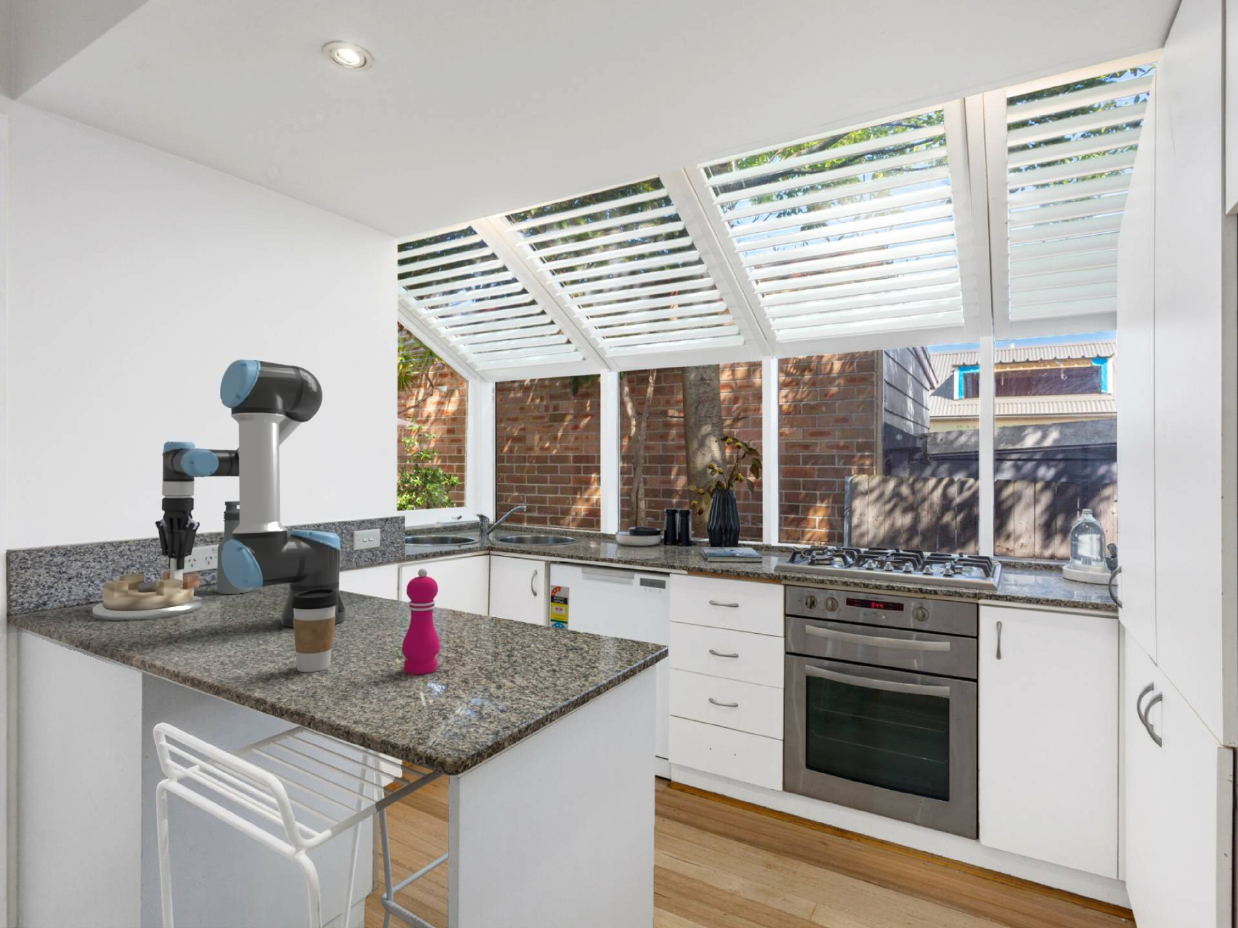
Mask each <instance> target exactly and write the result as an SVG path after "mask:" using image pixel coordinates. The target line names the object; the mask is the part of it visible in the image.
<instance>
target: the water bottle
mask: <svg viewBox="0 0 1238 928" xmlns="http://www.w3.org/2000/svg"><path fill="white" fill-rule="evenodd" d="M224 506H225V510H224V511H223V522H224V527H223V528H224V529H223V530H224V531H223V540H222V541H221V542H220V543H219V544H218V545H217V563H216V564H217V565H216V567H217V568H216V570H217V571H216V573H217V574H216V575H217V576H216V592H217V593H218V594H221V595H226V594H232V595H241V594H240V593H243V594H247V593H246V592H248V593H250V592H252V591H253V589H254V588H248V589H240V588H237V587H235V586H233V585H232V584H231V583H230V581H229V580H228V578H227V577H226V575H225V572H224V569H223V565H222V557H221V556H222V550H223V546H224V544H225V543H226V542H227V541H229V540H231V539H232V532H233V531H234V530H235V529H236V528H237V527H238V526H239V524H240V508H238V506H240V503H239V500H230V501H229V500H227V501H224Z"/></svg>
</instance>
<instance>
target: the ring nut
mask: <svg viewBox="0 0 1238 928" xmlns="http://www.w3.org/2000/svg"><path fill="white" fill-rule="evenodd" d="M144 577H145V574H142V573H131V574H123V575H119V579H118V580H113V581H112V580H111V581H106V582H104V586H103V587H104V589H103V594H102V603H103V607H104V608H107V609H114V610H140V609H153V608H162V607H169V606H175V605H180V604H184V603H188V602H190V601H192V600H193V599H194V596H195V595H194V593H195V592H194V589H195V588H196V589H197V588H200V574H197V573H192V574H185V575H184V574H183V581H181V580H179V579H170V571H168V572H163V573H162V580H156V581H146V582H145V580H144V579H145V578H144Z"/></svg>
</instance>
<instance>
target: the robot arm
mask: <svg viewBox="0 0 1238 928" xmlns="http://www.w3.org/2000/svg"><path fill="white" fill-rule="evenodd" d="M219 389H220V390H219V397H220V400H221V403H222V404H223V406H225V407H226V408H228V409H230V416H231V418H232V419H234V420H235V422H237V424H238V447H237V448H236V449H216V448H214V449H212V448H210V449H208V448H196V445H195V442H192V441H170V440H169V441H165V443H164V444H163V448H162V449H163V450H162V454H161V455H162V488H161V496H163V498H162V499H161V510H162V511H163V512H164V513H163V515H162V519H160V520H156V521H155V523H154V524H155V526H156V529H157V532H158V536H159V538H158V539H159V543H160V548H161V555H163V556H167V558H168V569H169V572H170V579H179V580H181V582H183V575H184V574H183V573H184V569H185V560H186V557H189V556H191V555H192V554H193V549H194V546H195V545H194V544H195V539H196V535H197V531H198V529H199V527H200V526H201V523H200V522H199V521H196V520H194V519H193V515H192V511H193V510H194V509H195V498H194V497H193V496H194V495H195V478H206V477H208V478H209V477H216V478H217V477H238V480H239V481H238V483H239V485H238V486H239V488H238V489H239V490H238V491H239V492H238V493H239V500H238V501H239V503H240V505H239V509H240V524H239V526H238V527H237V528H236V529H235V530H234V531H233V532H232V539H231V540H229V541H227V542H226V543H225V544H224V546H223V550H222V556H221V557H222V565H223V569H224V572H225V575H226V577H227V578H228V580H229V581H230V583H231V584H232V585H233V586H235V587H237V588H240V589H248V588H253V589H255V590H256V589H261V588H263V587H265V588H266V587H270V586H272V587H273V586H278V585H287V584H289V587H288V588H289V590H288V595H287V597H286V600H285V603H284V606H283V608H282V611H281V614H280V624H281V625H282V626H283V627H289V628H294V625H293V617H294V608H292V607H291V606H292V604H291V603H292V601H293V596H294V595H295V594H297V593H300V592H305V591H309V590H314V589H322V588H327V589H334V590H336V595H337V600H338V601H337V603H338V604H337V605H336V606H335V615H336V617H335V625H337V624H341V623H343V622H345V621H346V620H347V611H346V610H347V609H346V606H345V603H344V600H343V597H342V595H341V591H340V563H341V561H340V559H341V551H342V550H341V539H340V537H339V535H338V534H337V533H335V532H329V531H320V530H319V531H318V530H307V529H291V531H290V533H289V535H288V528H287V527H285V526H284V525H283V524H282V523H281V484H280V483H281V482H280V479H281V478H280V477H281V476H280V446H281V445H282V444H283V443H284V442H285V440H287V438H289V437H290V435H291V434H292V433H293V432H294V431H295V430H297V428H298V427H299V426H300V425H301V424H303V423H306V422H307V423H308V422H309V421H311V420H312V418H314V416H315V415H316V414H317V413H318V412H319V410H320V408H321V406H322V403H323V388H322V386H321V383H320V382H319V380H318V379H317V377H316V376H315V375H314V374H313V373H312V372H311V371H309V370H308V369H305V368H303V367H301V366H297V365H288V364H281V363H276V362H269V361H262V360H258V359H252V360H251V359H236V360H234V361H233V362H232V363H230V364H229V365H228V367H227V368H226V369H225V372H224V374H223V376H222V379H221V382H220V388H219Z"/></svg>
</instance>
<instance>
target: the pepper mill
mask: <svg viewBox="0 0 1238 928" xmlns="http://www.w3.org/2000/svg"><path fill="white" fill-rule="evenodd" d="M417 575H418V576H415V577H413V578H412V579H410V580H409V582H408V583H407V585H406V595H407V597H408V598H409V600H410V601H408V605H409V606H408V609H409V610H410V623H409V626H408V629H407V631H406V634H405V637H404V638H403V642H402V645H401V652H402V654H403V656H404V657H405V658H406V660H405V661H404V663H403V671H404V672H405V673H406V674H409V675H427V674H430V673H434V672H435V670H436V671H437V669H438V660H437V659H438V658H435V657H436V656H437V655H438V654H439V653H440V650H441V642H440V638H439V636H438V633H437V631H436V627H435V624H434V617H433V614H434V613H433V612H434V609H435V608H436V605H435V604H436V600H434V599H435V598H436V597H437V595H438V593H439V585H438V583H437V581H436V580H435V578H432V576H431V577H430V576H428V570H427V569H426V568H423V567H422V568H420V569H419V570H417Z"/></svg>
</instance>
